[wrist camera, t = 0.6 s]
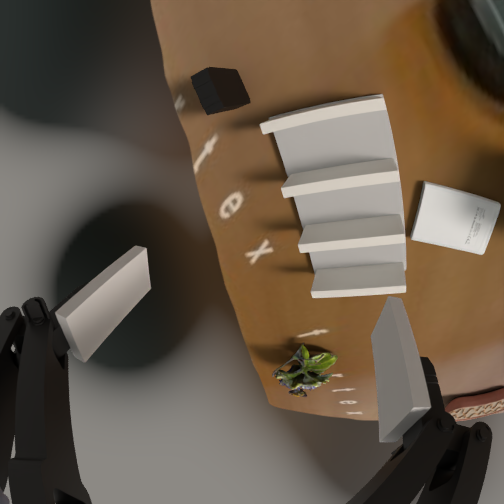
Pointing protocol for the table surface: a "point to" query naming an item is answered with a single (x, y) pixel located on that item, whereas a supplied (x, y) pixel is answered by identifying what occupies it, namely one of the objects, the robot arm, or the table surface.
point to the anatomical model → (476, 405)
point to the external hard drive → (454, 218)
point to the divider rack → (345, 194)
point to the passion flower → (306, 371)
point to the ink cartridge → (220, 89)
